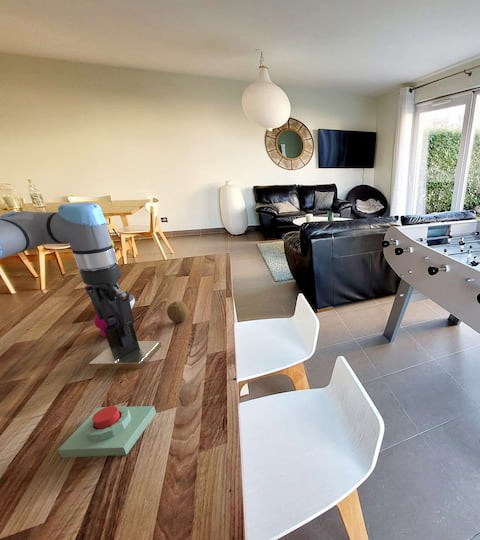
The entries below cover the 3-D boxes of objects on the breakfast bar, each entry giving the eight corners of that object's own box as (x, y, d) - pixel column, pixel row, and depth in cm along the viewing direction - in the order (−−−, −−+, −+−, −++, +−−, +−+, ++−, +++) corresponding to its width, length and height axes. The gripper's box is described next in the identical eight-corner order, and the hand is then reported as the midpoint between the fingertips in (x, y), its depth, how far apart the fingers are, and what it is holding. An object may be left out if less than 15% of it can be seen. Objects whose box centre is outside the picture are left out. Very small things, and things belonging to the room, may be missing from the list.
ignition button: (89, 429, 57) (86, 422, 57) (105, 413, 61) (102, 406, 60) (111, 429, 58) (108, 421, 57) (124, 412, 61) (122, 405, 61)
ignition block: (61, 457, 56) (54, 443, 54) (100, 414, 65) (95, 401, 63) (126, 455, 57) (121, 441, 55) (156, 412, 66) (152, 399, 64)
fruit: (179, 328, 97) (174, 307, 94) (165, 324, 99) (160, 304, 96) (194, 319, 103) (190, 299, 100) (181, 315, 104) (176, 296, 101)
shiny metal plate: (90, 369, 78) (88, 363, 77) (117, 346, 87) (115, 340, 86) (141, 368, 79) (139, 362, 78) (161, 346, 88) (160, 340, 87)
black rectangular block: (119, 358, 79) (110, 330, 76) (112, 355, 80) (103, 327, 77) (139, 347, 84) (131, 320, 81) (133, 344, 85) (124, 317, 81)
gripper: (136, 265, 73) (157, 341, 82) (94, 256, 78) (118, 329, 87) (103, 276, 67) (129, 357, 75) (60, 265, 71) (89, 343, 80)
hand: (123, 342), depth 81 cm, fingers closed on black rectangular block, 3 cm apart
